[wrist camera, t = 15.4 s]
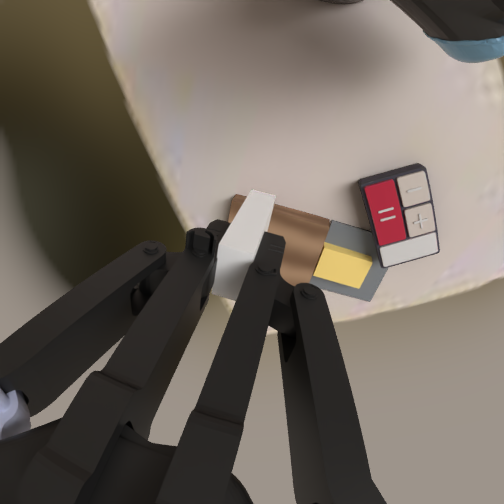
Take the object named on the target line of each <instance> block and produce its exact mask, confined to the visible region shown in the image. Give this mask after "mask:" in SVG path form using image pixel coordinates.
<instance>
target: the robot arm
mask: <svg viewBox="0 0 504 504" xmlns="http://www.w3.org/2000/svg"><path fill="white" fill-rule="evenodd" d="M321 1H325V2H329V3H337V4H348V3H355V2H359V1H362V0H321ZM390 1H392V2H393V3H394V4H395V5H396V6H397V7H399V8H400V9H401V10H402V11H403V12H404V13H406V14H407V15H408V16H409V17H410V18H411V19H412V20H413V21H414V22H415V23H416V24H418V25H419V26H420V27H421V28H422V29H423V32H424V33H425V35H426V36H427V37H428V38H430V39H431V40H433V41H435V42H436V43H437V44H438V45H439V46H440V47H441V48H442V49H443V50H444V51H445V52H446V53H447V54H448V55H449V56H450V57H452V58H454V59H456V60H458V61H461V62H466V63H479V62H485V61H489V60H493V59H496V58H499V57H502V56H504V0H390ZM275 199H276V195H272V194H268V193H264V192H260V191H257V190H253V189H252V190H251V191H250V193H249V194H248V196H247V198H246V199H245V201H244V203H243V204H242V206H241V208H240V209H239V211H238V213H237V214H236V216H235V218H234V219H233V221H232V223H229V222H225V221H221V220H218V219H217V220H215V221H213V222H211V223H210V224H209V225H208V227H207V229H205V228H193V229H190V230H189V231H187V234H186V247H185V250H184V251H183V252H166V247H165V245H163V244H162V243H160V242H157V241H145V242H142V243H140V244H139V245H137V246H135V247H134V248H132V249H131V250H129V251H128V252H126V253H125V254H123V255H122V256H120V257H118V258H117V259H115V260H114V261H113V262H111V263H109V264H108V265H106V266H105V267H103V268H102V269H100V270H99V271H98V272H96V273H95V274H93V275H92V276H90V277H89V278H87V279H86V280H84V281H83V282H82V283H80V284H79V285H77V286H76V287H74V288H73V289H72V290H70V291H69V292H67V293H66V294H65V295H63V296H62V297H60V298H59V299H58V300H56V301H55V302H54V303H52V304H51V305H50V306H48V307H47V308H45V309H44V310H43V311H41V312H40V313H39V314H37V315H36V316H35V317H34V318H32V319H31V320H30V321H28V322H27V323H26V324H24V325H23V326H22V327H21V328H19V329H18V330H17V331H15V332H14V333H13V334H12V335H11V336H9V337H8V338H7V339H6V340H4V341H3V342H2V343H0V504H253V502H252V500H251V498H250V496H249V494H248V493H247V491H246V489H245V487H244V486H243V485H242V483H241V482H240V481H239V480H238V479H237V478H236V476H234V475H233V474H232V473H231V472H232V469H233V465H234V462H235V458H236V455H237V451H238V447H239V444H240V440H241V436H242V432H243V427H244V420H245V416H246V412H247V408H248V404H249V401H250V396H251V393H252V389H253V385H254V381H255V377H256V373H257V369H258V365H259V361H260V357H261V353H262V349H263V345H264V341H265V337H266V333H267V328H268V326H270V327H272V328H274V329H276V330H277V331H278V334H277V336H278V343H279V353H280V362H281V369H282V379H283V389H284V397H285V407H286V416H287V426H288V435H289V445H290V455H291V466H292V476H293V486H294V493H295V499H296V503H297V504H387V503H386V502H385V500H384V498H383V497H382V495H381V493H380V492H379V490H378V489H377V487H376V485H375V484H374V482H373V480H372V479H371V474H370V469H369V464H368V459H367V454H366V450H365V445H364V441H363V436H362V432H361V428H360V424H359V419H358V415H357V411H356V407H355V403H354V399H353V395H352V391H351V387H350V383H349V379H348V376H347V372H346V368H345V364H344V361H343V357H342V353H341V350H340V346H339V343H338V339H337V336H336V332H335V329H334V325H333V322H332V318H331V315H330V312H329V308H328V305H327V302H326V299H325V295H324V293H323V292H322V290H321V289H320V288H318V287H317V286H315V285H313V284H310V283H299V284H296V286H293V285H291V284H289V283H288V282H286V281H285V280H284V279H283V278H282V276H281V274H280V268H281V264H282V259H283V254H284V250H285V245H286V241H285V239H284V237H283V236H280V235H276V234H273V233H269V232H267V231H268V227H269V223H270V219H271V215H272V211H273V207H274V203H275ZM211 288H212V294H214V295H218V296H221V297H224V298H228V299H231V300H235V301H236V302H235V305H234V308H233V310H232V313H231V315H230V318H229V321H228V323H227V326H226V329H225V331H224V334H223V336H222V339H221V342H220V344H219V347H218V349H217V352H216V355H215V357H214V360H213V363H212V365H211V368H210V371H209V373H208V375H207V378H206V381H205V383H204V386H203V389H202V391H201V394H200V396H199V399H198V402H197V404H196V407H195V409H194V410H193V411H192V412H191V414H190V416H189V418H188V420H187V423H186V425H185V428H184V431H183V433H182V436H181V438H180V441H179V443H178V446H169V445H162V444H155V443H151V442H149V441H148V437H149V434H150V427H151V424H152V421H153V419H154V417H155V414H156V412H157V410H158V408H159V405H160V403H161V401H162V399H163V397H164V394H165V392H166V390H167V388H168V386H169V384H170V381H171V379H172V377H173V375H174V373H175V371H176V369H177V366H178V364H179V362H180V360H181V358H182V355H183V354H184V351H185V349H186V347H187V345H188V343H189V341H190V338H191V336H192V334H193V332H194V330H195V328H196V326H197V324H198V322H199V319H200V317H201V315H202V313H203V311H204V309H205V307H206V305H207V303H208V300H209V293H210V291H211ZM124 335H125V336H124ZM123 336H124V338H123V339H122V341H121V342H120V344H119V345H118V347H117V348H116V350H115V351H114V353H113V354H112V356H111V358H110V359H109V361H108V362H107V364H106V366H105V367H104V368H103V370H101V371H94V372H92V373H91V374H90V375H89V376H88V377H87V378H86V380H85V382H84V383H83V385H82V386H81V388H80V390H79V391H78V393H77V394H76V396H75V398H74V399H73V401H72V403H71V404H70V406H69V408H68V409H67V411H66V413H65V414H64V416H63V418H60V419H58V420H55V421H52V422H50V423H47V424H45V425H42V426H39V427H37V428H34V429H31V430H30V428H31V423H30V417H32V416H34V415H36V414H38V413H39V412H41V411H42V410H43V409H45V408H46V407H47V406H49V405H50V404H51V403H52V402H54V401H55V400H56V399H57V398H58V397H59V396H60V395H61V394H62V393H63V392H64V391H65V390H66V389H67V388H68V387H69V386H70V385H72V384H73V383H74V382H75V381H76V380H77V379H78V378H79V377H80V376H81V375H82V374H83V373H84V372H85V371H86V370H87V369H89V368H90V367H91V366H92V365H93V364H94V363H95V362H96V361H97V360H98V359H99V358H100V357H101V356H103V354H105V353H106V352H107V351H108V350H109V349H110V348H111V347H112V346H113V345H114V344H116V342H118V341H119V340H120V339H121V338H122V337H123Z"/></svg>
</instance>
